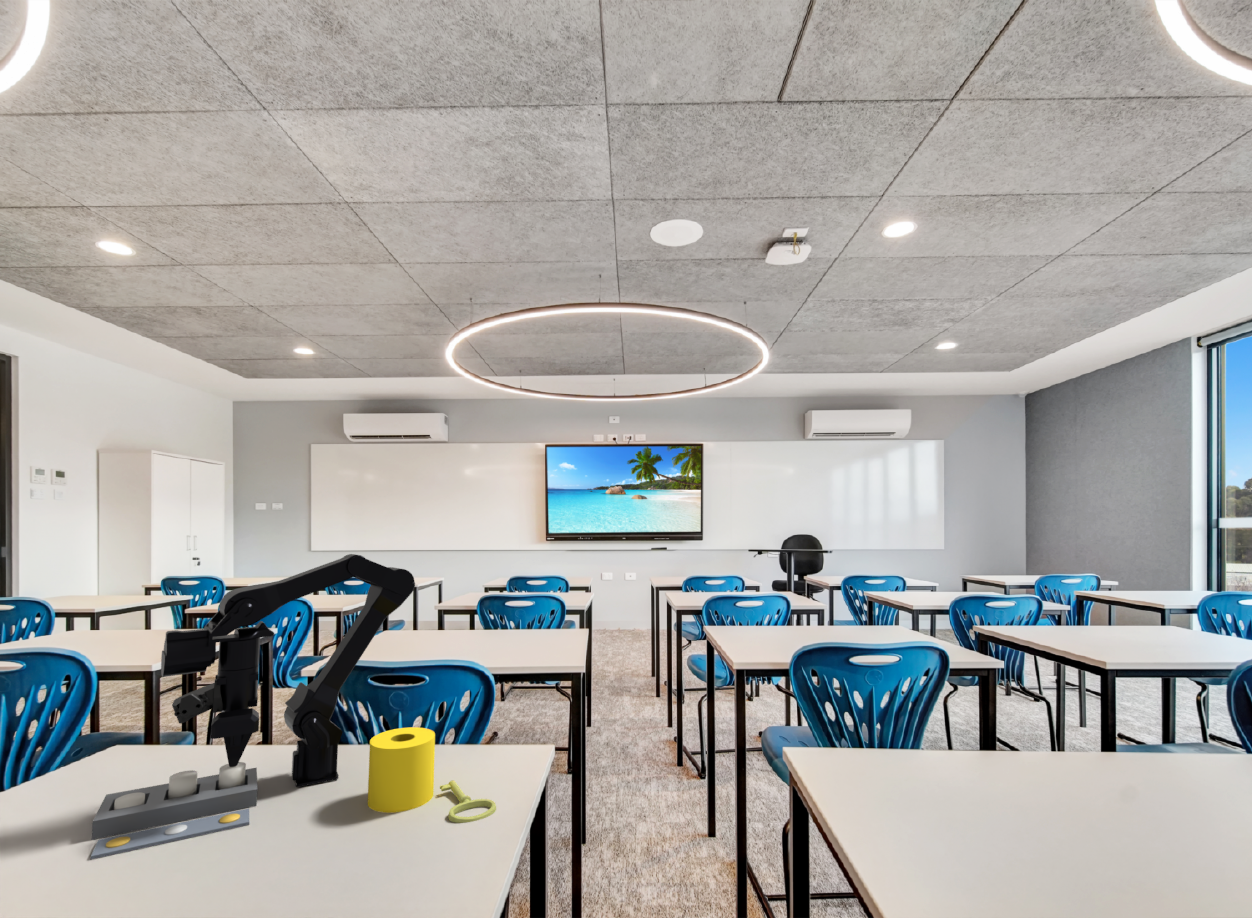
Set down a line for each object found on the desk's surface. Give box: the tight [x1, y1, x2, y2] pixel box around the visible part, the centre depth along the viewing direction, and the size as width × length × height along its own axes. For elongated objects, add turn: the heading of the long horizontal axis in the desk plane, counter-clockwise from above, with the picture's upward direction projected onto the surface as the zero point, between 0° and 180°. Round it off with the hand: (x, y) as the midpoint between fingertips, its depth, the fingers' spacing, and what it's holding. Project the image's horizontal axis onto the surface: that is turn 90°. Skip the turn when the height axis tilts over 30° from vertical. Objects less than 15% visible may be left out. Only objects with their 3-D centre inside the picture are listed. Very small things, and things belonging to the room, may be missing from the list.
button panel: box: [90, 767, 258, 841], centre depth 97 cm, size 20×10×2 cm, turn 121°
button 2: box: [218, 761, 247, 790], centre depth 100 cm, size 4×4×3 cm
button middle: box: [168, 770, 199, 799], centre depth 97 cm, size 4×4×3 cm
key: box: [439, 780, 497, 824], centre depth 97 cm, size 7×12×2 cm, turn 53°
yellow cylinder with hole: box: [367, 726, 436, 814], centre depth 101 cm, size 10×10×9 cm
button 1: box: [114, 793, 145, 810], centre depth 93 cm, size 4×4×3 cm
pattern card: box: [90, 808, 250, 860], centre depth 89 cm, size 18×5×1 cm, turn 121°
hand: (233, 765), depth 100 cm, fingers closed
